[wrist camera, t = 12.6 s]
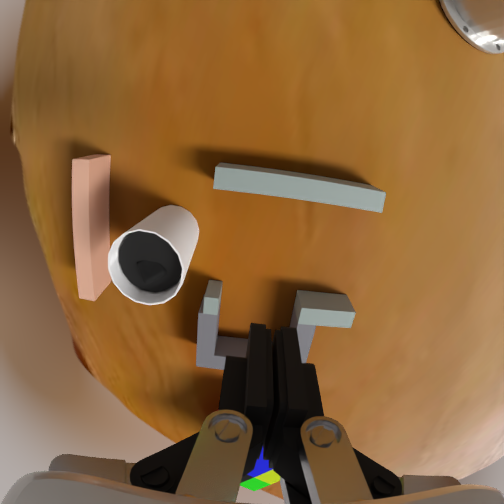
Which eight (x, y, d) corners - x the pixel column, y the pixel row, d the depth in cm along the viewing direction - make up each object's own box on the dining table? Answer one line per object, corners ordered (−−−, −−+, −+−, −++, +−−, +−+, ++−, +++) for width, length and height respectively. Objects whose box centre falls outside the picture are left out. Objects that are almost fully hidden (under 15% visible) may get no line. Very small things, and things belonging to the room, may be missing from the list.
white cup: (213, 246, 35) (198, 290, 26) (161, 268, 36) (132, 314, 27) (186, 190, 33) (160, 215, 23) (133, 216, 34) (93, 248, 24)
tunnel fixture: (372, 185, 32) (390, 194, 28) (327, 357, 40) (334, 383, 36) (95, 154, 31) (72, 159, 27) (102, 328, 39) (88, 350, 35)
